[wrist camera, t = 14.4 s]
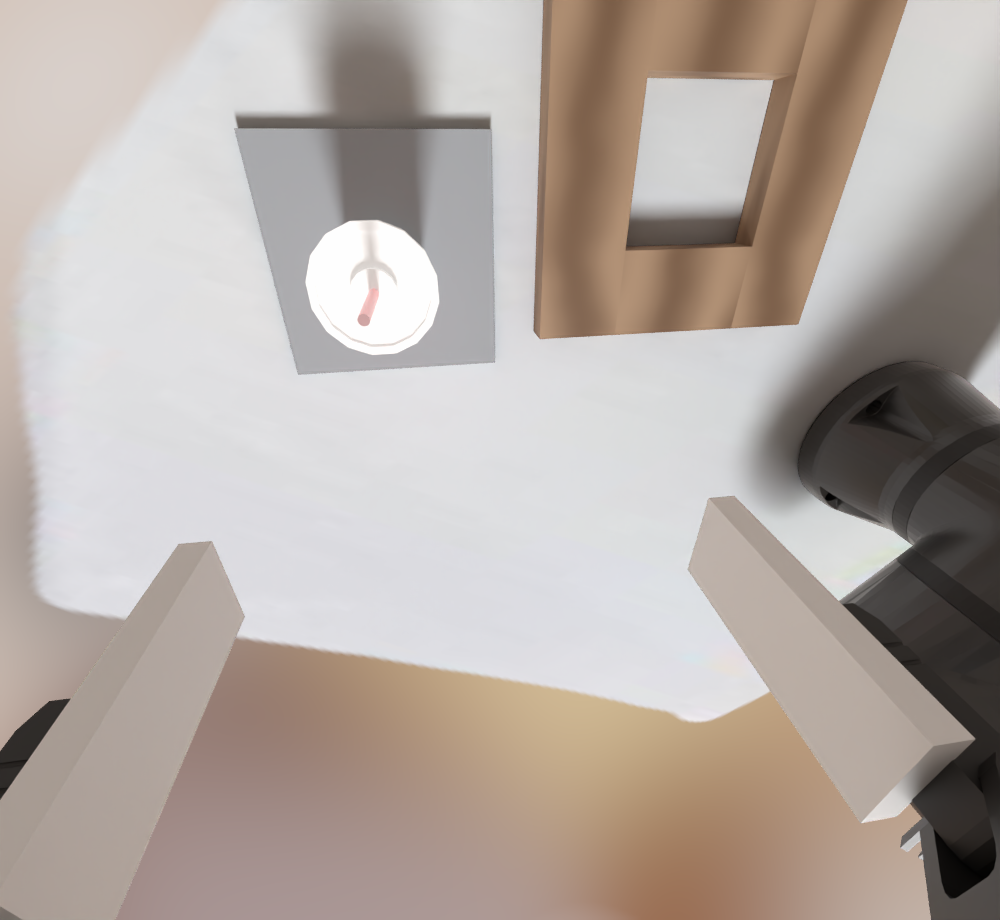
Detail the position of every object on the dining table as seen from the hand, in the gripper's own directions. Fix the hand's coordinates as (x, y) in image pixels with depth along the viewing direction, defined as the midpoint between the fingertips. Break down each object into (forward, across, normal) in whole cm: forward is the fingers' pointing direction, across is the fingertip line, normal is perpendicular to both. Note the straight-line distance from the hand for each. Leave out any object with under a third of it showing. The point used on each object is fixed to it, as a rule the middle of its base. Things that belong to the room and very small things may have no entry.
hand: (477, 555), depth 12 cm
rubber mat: (+23, +4, -4) cm, 24 cm away
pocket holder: (+24, -16, -10) cm, 30 cm away
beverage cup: (+23, +4, -4) cm, 24 cm away
